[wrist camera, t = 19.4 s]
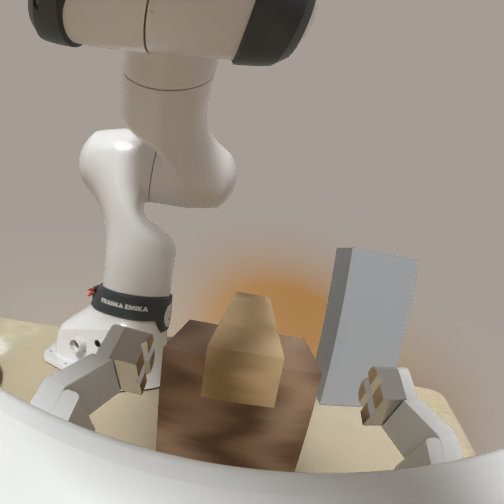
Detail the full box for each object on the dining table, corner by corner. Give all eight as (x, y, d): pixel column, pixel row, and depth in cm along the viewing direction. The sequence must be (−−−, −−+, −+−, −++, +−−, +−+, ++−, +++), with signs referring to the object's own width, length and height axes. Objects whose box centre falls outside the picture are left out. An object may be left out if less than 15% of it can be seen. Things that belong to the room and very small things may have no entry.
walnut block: (155, 486, 22) (163, 347, 22) (177, 435, 32) (190, 319, 32) (282, 506, 22) (322, 372, 22) (277, 451, 32) (303, 338, 32)
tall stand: (319, 404, 47) (352, 247, 47) (310, 381, 57) (336, 248, 57) (384, 406, 47) (418, 259, 47) (367, 385, 57) (394, 258, 57)
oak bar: (200, 396, 16) (207, 345, 16) (232, 316, 38) (236, 291, 38) (274, 407, 16) (284, 358, 16) (265, 321, 38) (269, 297, 38)
